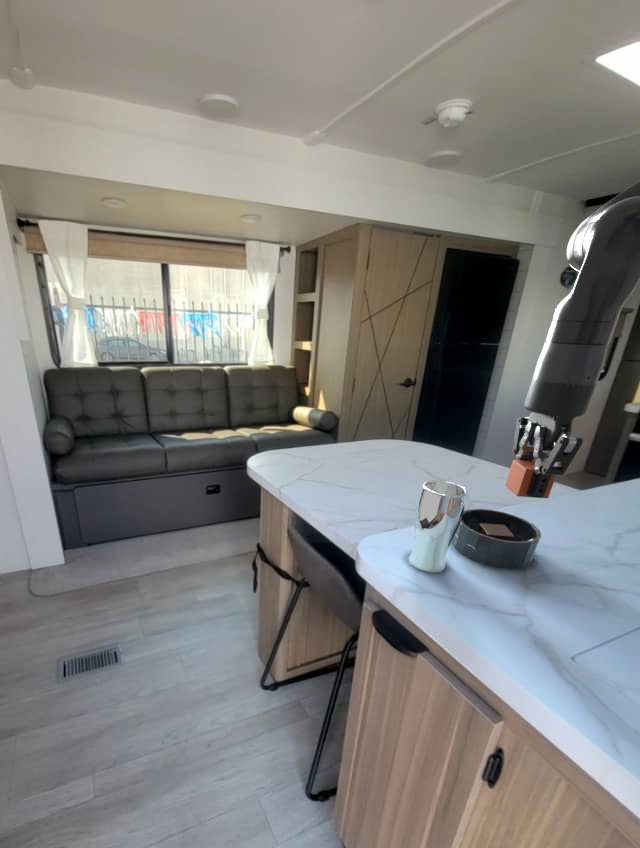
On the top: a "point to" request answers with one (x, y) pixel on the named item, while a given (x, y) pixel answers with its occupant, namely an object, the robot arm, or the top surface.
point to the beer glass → (436, 523)
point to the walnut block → (495, 531)
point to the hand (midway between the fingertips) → (526, 489)
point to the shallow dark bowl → (492, 548)
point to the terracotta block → (524, 478)
